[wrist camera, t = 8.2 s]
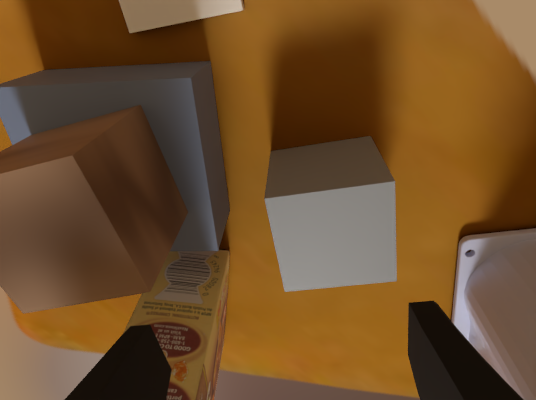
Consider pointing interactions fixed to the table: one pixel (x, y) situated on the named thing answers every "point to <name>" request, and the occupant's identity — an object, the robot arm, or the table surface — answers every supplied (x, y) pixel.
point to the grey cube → (332, 214)
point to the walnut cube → (86, 212)
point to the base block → (158, 115)
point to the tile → (173, 11)
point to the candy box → (189, 319)
